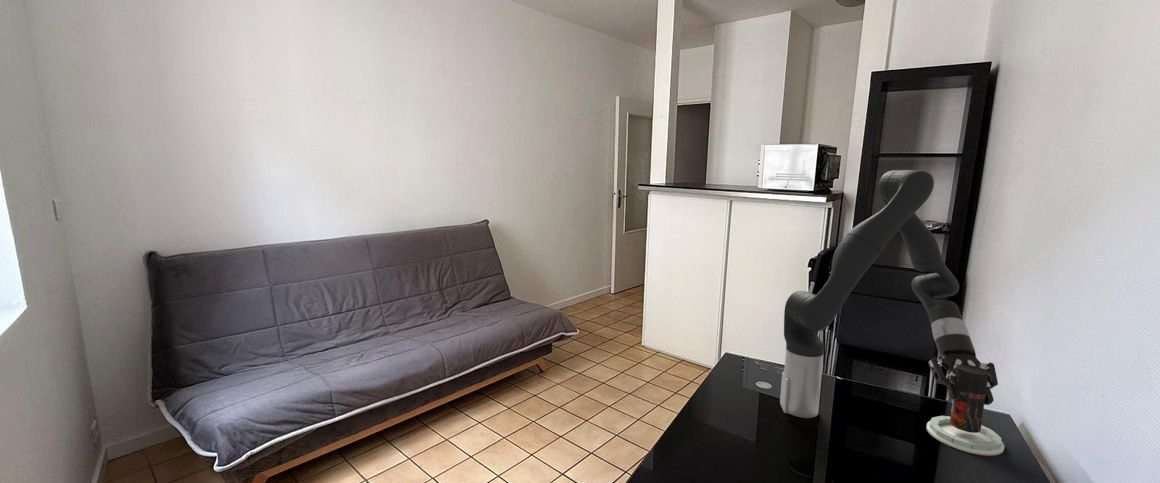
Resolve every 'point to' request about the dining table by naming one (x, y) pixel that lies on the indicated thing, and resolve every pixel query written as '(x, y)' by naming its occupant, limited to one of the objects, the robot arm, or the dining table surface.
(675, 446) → the dining table surface
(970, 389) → the deodorant
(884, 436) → the dining table surface
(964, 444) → the round plate
